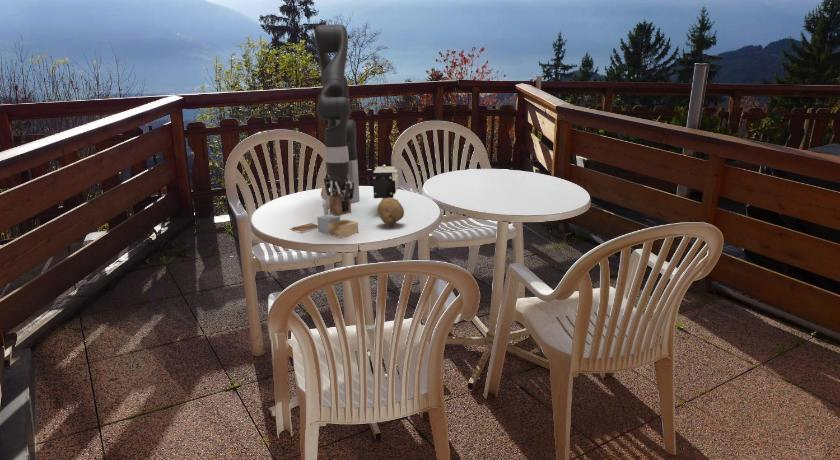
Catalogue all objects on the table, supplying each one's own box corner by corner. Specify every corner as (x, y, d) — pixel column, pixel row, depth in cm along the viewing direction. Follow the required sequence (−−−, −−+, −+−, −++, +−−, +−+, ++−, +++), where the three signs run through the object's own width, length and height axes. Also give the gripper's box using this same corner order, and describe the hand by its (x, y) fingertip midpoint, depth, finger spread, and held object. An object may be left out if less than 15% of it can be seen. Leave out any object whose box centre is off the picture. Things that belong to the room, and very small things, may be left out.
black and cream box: (396, 216, 212) (394, 169, 207) (373, 216, 212) (371, 169, 207) (400, 204, 229) (399, 160, 224) (379, 204, 230) (377, 161, 225)
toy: (358, 209, 224) (355, 171, 219) (335, 222, 206) (332, 181, 202) (337, 208, 227) (334, 170, 222) (313, 220, 209) (310, 180, 205)
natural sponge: (403, 221, 205) (402, 194, 202) (405, 228, 197) (404, 200, 194) (377, 223, 204) (376, 195, 201) (379, 230, 196) (378, 201, 193)
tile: (289, 229, 199) (289, 227, 199) (311, 223, 205) (311, 222, 205) (301, 233, 194) (300, 231, 194) (323, 227, 200) (323, 225, 200)
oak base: (329, 234, 193) (328, 223, 191) (344, 230, 198) (343, 218, 196) (342, 238, 188) (341, 227, 187) (358, 233, 193) (357, 222, 192)
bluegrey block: (317, 217, 195) (328, 219, 191) (328, 214, 199) (339, 216, 195) (318, 231, 197) (329, 234, 193) (329, 227, 200) (340, 230, 196)
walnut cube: (330, 213, 191) (328, 195, 190) (342, 210, 195) (341, 193, 193) (339, 215, 188) (337, 197, 186) (351, 212, 191) (350, 195, 190)
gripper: (315, 159, 189) (319, 209, 194) (341, 163, 179) (344, 216, 184) (333, 156, 194) (337, 205, 199) (359, 160, 184) (362, 211, 189)
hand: (340, 210), depth 191 cm, fingers closed on walnut cube, 5 cm apart
